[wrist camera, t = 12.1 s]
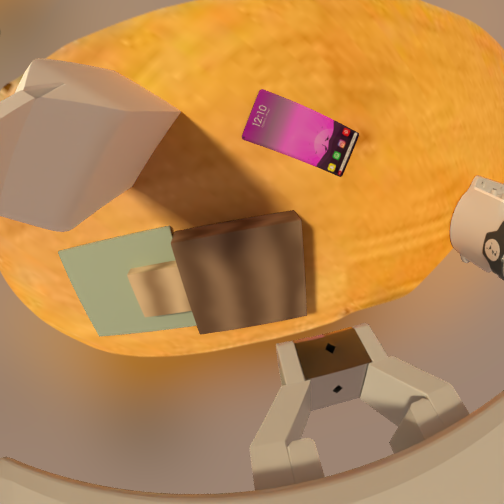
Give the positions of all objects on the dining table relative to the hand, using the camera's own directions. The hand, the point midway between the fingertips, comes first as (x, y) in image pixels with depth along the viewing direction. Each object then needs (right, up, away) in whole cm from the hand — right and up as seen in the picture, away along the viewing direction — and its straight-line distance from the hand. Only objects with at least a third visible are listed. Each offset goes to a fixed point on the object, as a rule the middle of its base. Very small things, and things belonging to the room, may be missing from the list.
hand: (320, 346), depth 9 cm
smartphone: (+4, +19, +27) cm, 33 cm away
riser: (-4, 0, +34) cm, 35 cm away
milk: (-19, +19, +23) cm, 36 cm away
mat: (-22, -3, +34) cm, 41 cm away
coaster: (-16, -2, +34) cm, 37 cm away
